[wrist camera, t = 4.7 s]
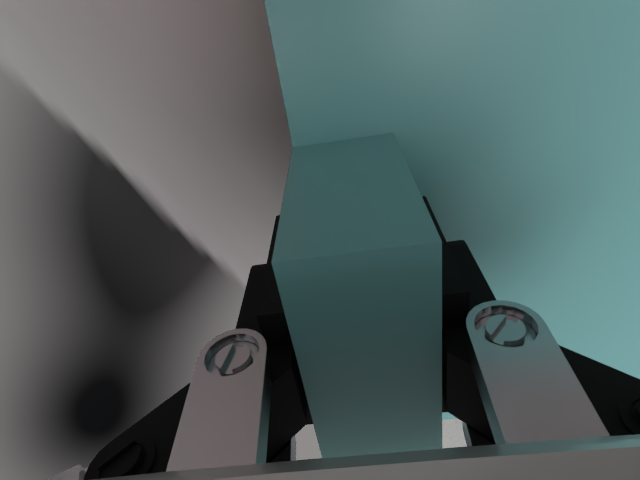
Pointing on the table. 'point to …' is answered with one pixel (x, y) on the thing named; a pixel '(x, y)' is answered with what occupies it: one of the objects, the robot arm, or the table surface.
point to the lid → (451, 191)
